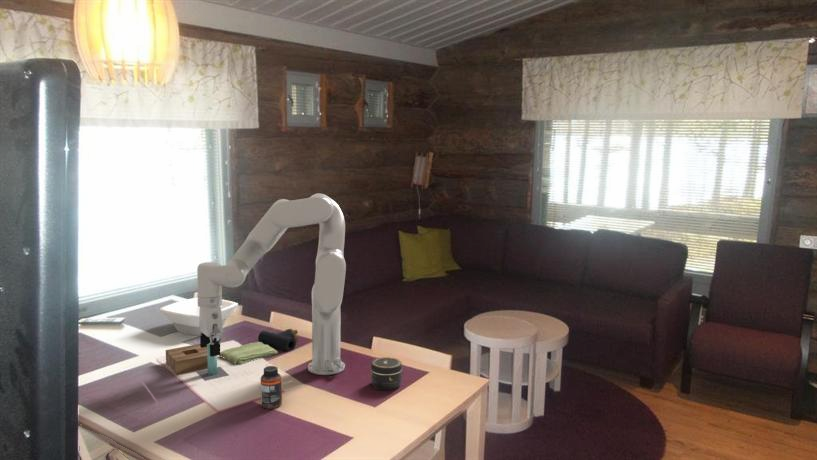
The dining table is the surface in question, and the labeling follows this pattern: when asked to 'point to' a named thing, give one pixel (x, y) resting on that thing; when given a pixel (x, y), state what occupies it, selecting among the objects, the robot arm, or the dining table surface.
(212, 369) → the peg
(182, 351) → the hole block
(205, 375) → the mat
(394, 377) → the jar
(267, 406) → the supplement bottle
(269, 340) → the pipe connector
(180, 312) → the bowl
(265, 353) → the washcloth
